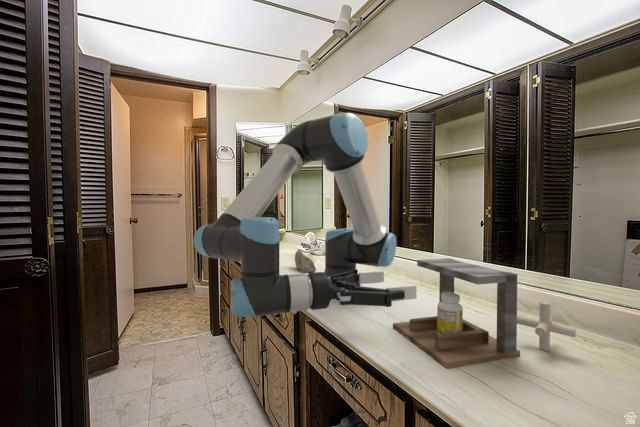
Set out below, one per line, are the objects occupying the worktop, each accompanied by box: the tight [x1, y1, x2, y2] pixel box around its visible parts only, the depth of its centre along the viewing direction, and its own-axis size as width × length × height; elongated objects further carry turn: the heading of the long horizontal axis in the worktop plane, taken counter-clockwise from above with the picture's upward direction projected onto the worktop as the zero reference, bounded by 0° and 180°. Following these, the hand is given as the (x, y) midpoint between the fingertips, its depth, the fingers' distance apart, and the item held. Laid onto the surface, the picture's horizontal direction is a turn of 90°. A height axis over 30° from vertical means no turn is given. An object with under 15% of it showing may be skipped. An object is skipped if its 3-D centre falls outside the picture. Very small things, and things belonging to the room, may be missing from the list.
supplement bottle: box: [436, 292, 464, 335], centre depth 67 cm, size 5×5×10 cm
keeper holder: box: [392, 257, 521, 369], centre depth 67 cm, size 20×18×17 cm
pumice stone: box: [294, 249, 317, 274], centre depth 144 cm, size 15×8×10 cm, turn 23°
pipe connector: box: [517, 301, 577, 352], centre depth 63 cm, size 10×10×10 cm
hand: (397, 283), depth 66 cm, fingers open, 13 cm apart
